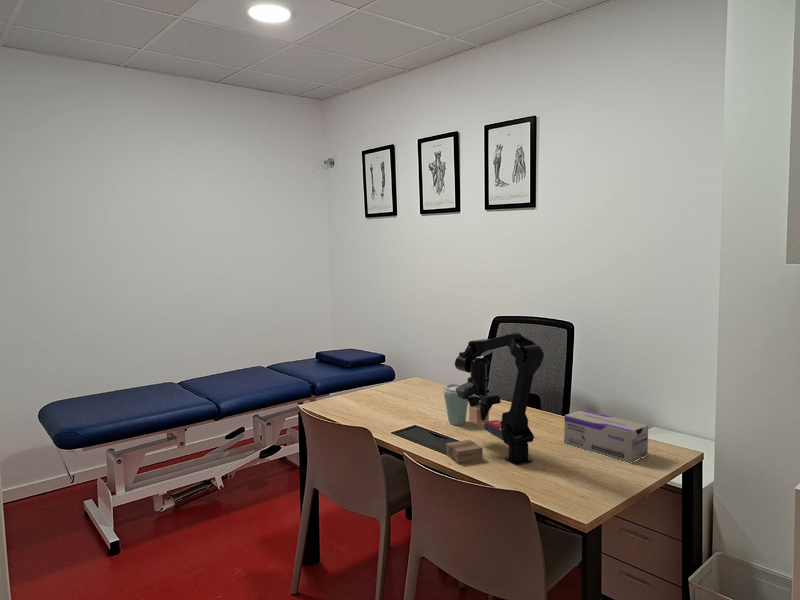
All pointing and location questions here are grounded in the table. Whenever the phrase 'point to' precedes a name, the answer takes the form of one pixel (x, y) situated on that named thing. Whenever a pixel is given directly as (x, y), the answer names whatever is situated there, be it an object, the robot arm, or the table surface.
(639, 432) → the surgical sutures box
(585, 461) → the table surface
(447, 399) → the disposable coffee cup
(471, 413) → the terracotta cube
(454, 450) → the walnut block
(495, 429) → the calculator
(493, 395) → the robot arm
